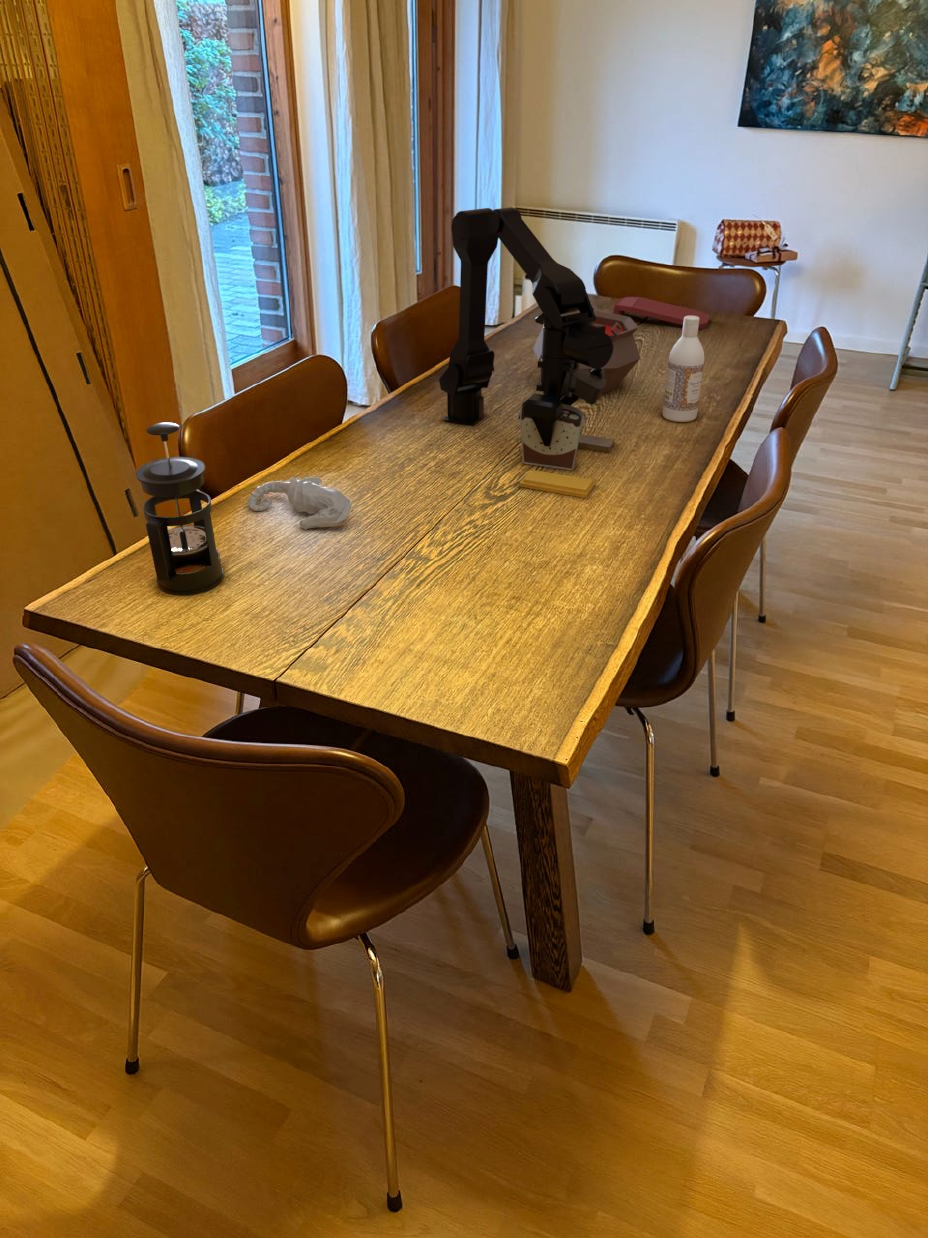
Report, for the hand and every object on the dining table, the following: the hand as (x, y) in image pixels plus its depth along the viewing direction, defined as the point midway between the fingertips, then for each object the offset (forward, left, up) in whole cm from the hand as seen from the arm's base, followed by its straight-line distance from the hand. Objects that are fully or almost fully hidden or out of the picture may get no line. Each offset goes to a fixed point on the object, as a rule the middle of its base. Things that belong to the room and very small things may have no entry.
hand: (553, 440), depth 166 cm
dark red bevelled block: (-5, +105, -4) cm, 105 cm away
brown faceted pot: (-8, +44, -4) cm, 45 cm away
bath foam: (+16, +32, -4) cm, 36 cm away
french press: (-34, -62, -4) cm, 71 cm away
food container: (0, 0, -4) cm, 4 cm away
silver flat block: (+4, +10, -4) cm, 12 cm away
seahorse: (-31, -37, -4) cm, 48 cm away
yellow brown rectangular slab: (+4, -10, -4) cm, 12 cm away
